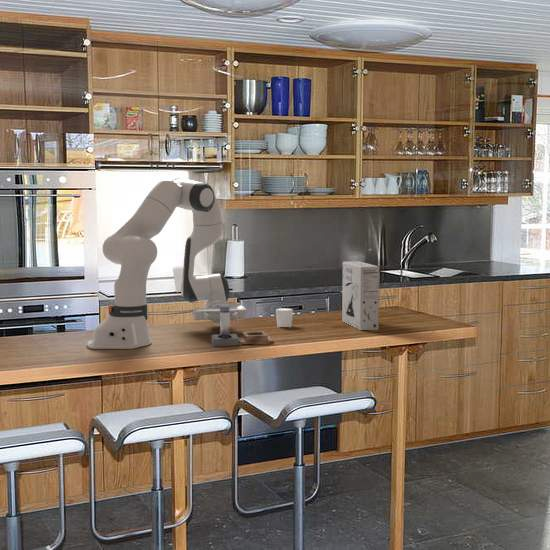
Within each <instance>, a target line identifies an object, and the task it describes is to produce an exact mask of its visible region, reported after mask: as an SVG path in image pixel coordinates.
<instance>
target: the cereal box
mask: <svg viewBox="0 0 550 550" xmlns="http://www.w3.org/2000/svg"><path fill="white" fill-rule="evenodd" d="M341 296H342V301H341V302H342V304H341V305H342V306H341V307H342V308H341V310H342V311H341V312H342V313H341V316H342V318H341V320H342V321H343V323H344V322H345V323H344V324H346V323H347V324H346V325H348V324H349V325H348V326H350V325H351V326H350V327H352V326H353V327H352V328H354V327H355V328H354V329H356V328H357V329H356V330H358V329H359V330H358V331H360V330H371V331H378V330H379V315H380V313H379V310H380V309H379V304H380V303H379V301H380V299H379V298H380V297H379V296H380V266H377V265H374V264H371V263H367V262H363V261H359V260H358V261H357V260H356V261H355V260H353V261H343V262H342V294H341ZM342 321H341V322H342ZM377 329H378V330H377Z"/></svg>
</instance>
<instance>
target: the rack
mask: <svg viewBox="0 0 550 550" xmlns="http://www.w3.org/2000/svg"><path fill="white" fill-rule="evenodd" d="M238 338H239V346H243V345H242V344H253V345H273V344H274V343H275V341H274V340H273V339H272V338H271V336H269V335H268V334H267V333H266V331H264V330H263V331H260V330H259V331H242V336H240V337H239V336H238Z"/></svg>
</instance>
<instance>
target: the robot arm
mask: <svg viewBox="0 0 550 550" xmlns="http://www.w3.org/2000/svg"><path fill="white" fill-rule="evenodd" d="M176 208H180V209H183V210H187V211H191V212H192V221H193V222H192V223H193V229H192V233H191V234H190V236H188V237H187V238H186V241H185V246H184V258H183V267H184V268H183V279H182V283H181V293H180V294H181V296H182V299H183V300H185V301H187V302H188V303H190V304H191V303H196V302H199V301H204V300H206V301H205V303H204V307H197V308H196V307H195V308H193V311H191V315H192V317H193V321H211V322H213V323H214V324H220V305H221V304H229V306H230V321H237V320H245V319H247V317H248V312H247V311H248V310H247V308H246V307H245V306H243V305H241V302H236V301H235V302H233V301H228V300H229V298H230V288H229V282H228V280H227V278H226V277H225V276H224V275H223V274H222V273H211V274H210V273H209V274H203V275H194V272H195V271H194V269H195V260H196V256H197V255H198V254H199V253H200V252H201V251H203V250H205V249H207V248H210V247H211V246H213V245H214V244H215V243H217V242H218V241H219V240H220V238H221V237H222V235H223V218H222V211H221V207H220V202H219V199H218V197H217V196H216V195H215V191H214V189H213V187H212V186H211V185H209V184H208V183H206V182H202V181H197V180H192V179H186V178H185V179H184V178H183V179H182V178H174V179H167V178H165V179H161V180H160V181H158V183H157V184H155V186H154V187H153V188H152V189H151V190H150V192H148V194H147V196H146V197H145V198H144V199H143V201H142V203H141V204H140V205H139V207H138V209H137V210H136V211H135V213H134V214H133V215H132V216H131V217H130V218H129V219H128V220H127V221H126V222H125V223H124V224H123V225H122V226H121V227H120V228H119V229H118V230H117V231H116V232H115V233H113V234H112V235H110V236H108V237H107V238H106V239H105V240H104V242H103V243H102V253H103V256H104V257H105V258H106V259H107V260H109V261H110V262H112V263H113V264H115V265H120V266H121V267H120V272H119V275H118V278H117V279H116V280H115V281H114V286H113V287H114V293H113V294H114V304H109V305H108V306H107V307H108V308H107V309H108V315H109V316H107V317H106V318H104V320H102V321H101V322H100V323H98V324H97V326H95V328H94V331H93V336H92V339H89V340H88V341H87V343H86V347H87V348H88V349H92V350H93V349H96V350H99V349H102V350H103V349H104V350H105V349H106V350H107V349H110V350H112V349H113V350H115V349H116V350H117V349H118V350H124V349H125V350H130V349H131V350H132V349H133V350H134V349H137V348H140V347H146V346H149V345H151V344H152V339H151V336H150V331H149V325H148V323H149V322H148V320H149V319H148V318H149V307H148V304H147V282H148V281H147V280H148V277H149V276H148V275H149V272H150V268H151V266H152V265H153V263H154V262H155V260H157V257H158V248H157V245H156V243H155V242H154V241H153V240H152V239H153V238H154V237H156V236H157V235H159V234H160V233H161V232H162V230H163V229H164V227H165V226H166V224H167V222H168V221H169V219H170V218H171V216H172V215H173V214H174V211H175V210H176Z"/></svg>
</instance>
